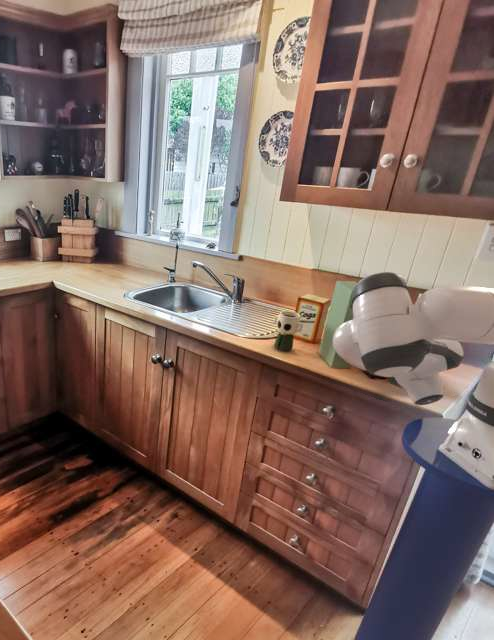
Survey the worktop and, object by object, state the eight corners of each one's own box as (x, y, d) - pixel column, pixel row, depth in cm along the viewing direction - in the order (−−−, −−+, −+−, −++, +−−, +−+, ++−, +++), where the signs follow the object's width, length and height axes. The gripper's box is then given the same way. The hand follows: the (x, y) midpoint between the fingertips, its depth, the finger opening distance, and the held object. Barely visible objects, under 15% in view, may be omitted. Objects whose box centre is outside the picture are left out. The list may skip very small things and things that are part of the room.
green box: (349, 368, 153) (371, 291, 142) (331, 367, 153) (352, 290, 142) (335, 353, 164) (355, 281, 152) (318, 352, 164) (336, 280, 152)
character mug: (263, 346, 167) (270, 311, 162) (275, 341, 172) (282, 308, 166) (290, 356, 160) (298, 320, 154) (301, 351, 164) (310, 316, 158)
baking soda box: (320, 339, 176) (331, 298, 169) (314, 343, 171) (324, 302, 164) (296, 332, 181) (305, 292, 174) (289, 336, 177) (298, 296, 170)
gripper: (453, 350, 134) (437, 314, 141) (382, 346, 134) (370, 310, 141) (440, 363, 139) (425, 327, 147) (372, 359, 139) (361, 324, 147)
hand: (398, 319), depth 144 cm, fingers closed on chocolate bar, 3 cm apart
